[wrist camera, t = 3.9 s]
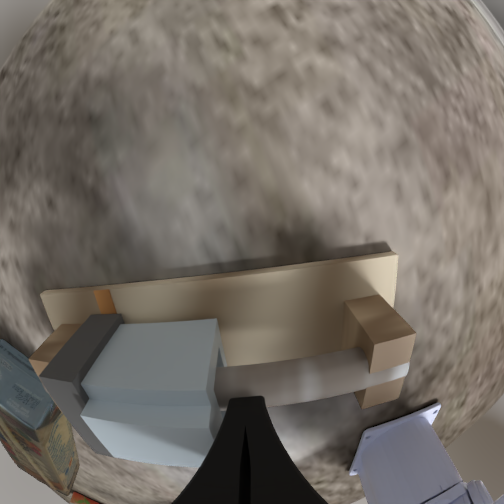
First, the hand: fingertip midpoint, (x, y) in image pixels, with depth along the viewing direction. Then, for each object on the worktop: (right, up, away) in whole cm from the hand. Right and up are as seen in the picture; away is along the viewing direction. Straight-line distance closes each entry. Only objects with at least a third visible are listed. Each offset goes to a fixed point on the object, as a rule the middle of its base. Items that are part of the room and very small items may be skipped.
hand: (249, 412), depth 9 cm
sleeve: (-4, +1, +4) cm, 5 cm away
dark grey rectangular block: (-7, +1, +5) cm, 9 cm away
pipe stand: (-2, +1, +5) cm, 5 cm away
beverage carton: (-21, -10, +8) cm, 25 cm away
